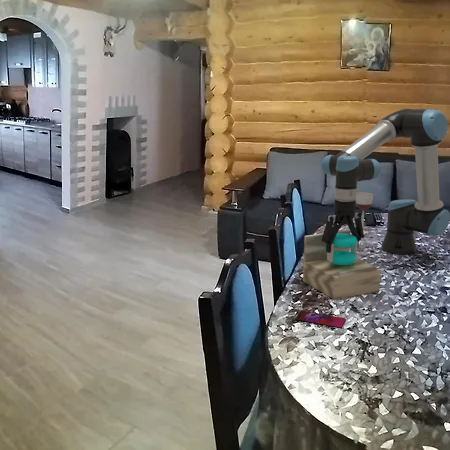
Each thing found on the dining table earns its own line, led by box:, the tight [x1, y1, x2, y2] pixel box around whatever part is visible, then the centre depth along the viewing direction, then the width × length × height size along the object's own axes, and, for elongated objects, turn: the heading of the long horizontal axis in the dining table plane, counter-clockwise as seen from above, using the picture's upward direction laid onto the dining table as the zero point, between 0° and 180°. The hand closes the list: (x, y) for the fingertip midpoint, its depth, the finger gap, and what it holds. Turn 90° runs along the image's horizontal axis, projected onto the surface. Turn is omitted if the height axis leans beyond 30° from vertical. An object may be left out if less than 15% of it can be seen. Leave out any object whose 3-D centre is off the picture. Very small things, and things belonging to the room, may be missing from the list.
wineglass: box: [355, 191, 374, 234], centre depth 267 cm, size 8×9×20 cm
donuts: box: [330, 233, 357, 265], centre depth 192 cm, size 10×10×10 cm
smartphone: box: [294, 310, 347, 329], centre depth 167 cm, size 8×1×15 cm
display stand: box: [302, 229, 382, 300], centre depth 193 cm, size 20×20×18 cm
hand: (341, 258), depth 193 cm, fingers closed on donuts, 10 cm apart
